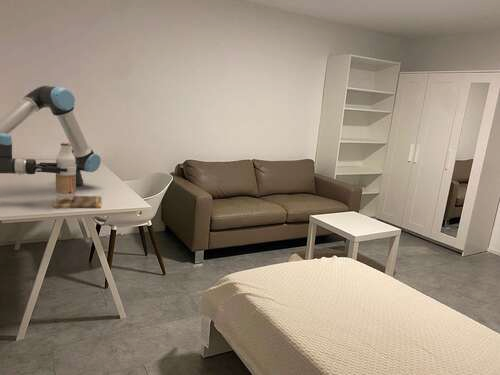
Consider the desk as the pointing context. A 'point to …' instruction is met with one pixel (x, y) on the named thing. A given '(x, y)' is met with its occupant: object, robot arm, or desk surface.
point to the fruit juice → (65, 180)
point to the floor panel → (78, 202)
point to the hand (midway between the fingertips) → (75, 168)
